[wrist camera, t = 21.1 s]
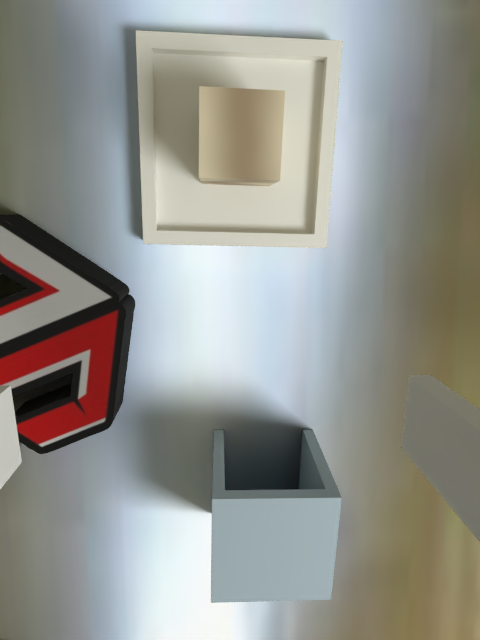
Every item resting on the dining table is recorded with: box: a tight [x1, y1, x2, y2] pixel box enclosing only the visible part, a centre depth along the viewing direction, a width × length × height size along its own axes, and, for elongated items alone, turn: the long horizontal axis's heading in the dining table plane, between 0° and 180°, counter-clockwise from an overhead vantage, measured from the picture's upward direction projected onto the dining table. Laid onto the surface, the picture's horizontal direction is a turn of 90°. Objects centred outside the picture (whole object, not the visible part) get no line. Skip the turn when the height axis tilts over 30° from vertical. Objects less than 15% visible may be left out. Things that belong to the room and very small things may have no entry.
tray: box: [136, 30, 343, 248], centre depth 30 cm, size 14×14×1 cm
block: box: [199, 86, 285, 186], centre depth 27 cm, size 5×5×6 cm
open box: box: [211, 430, 342, 603], centre depth 33 cm, size 9×9×9 cm
